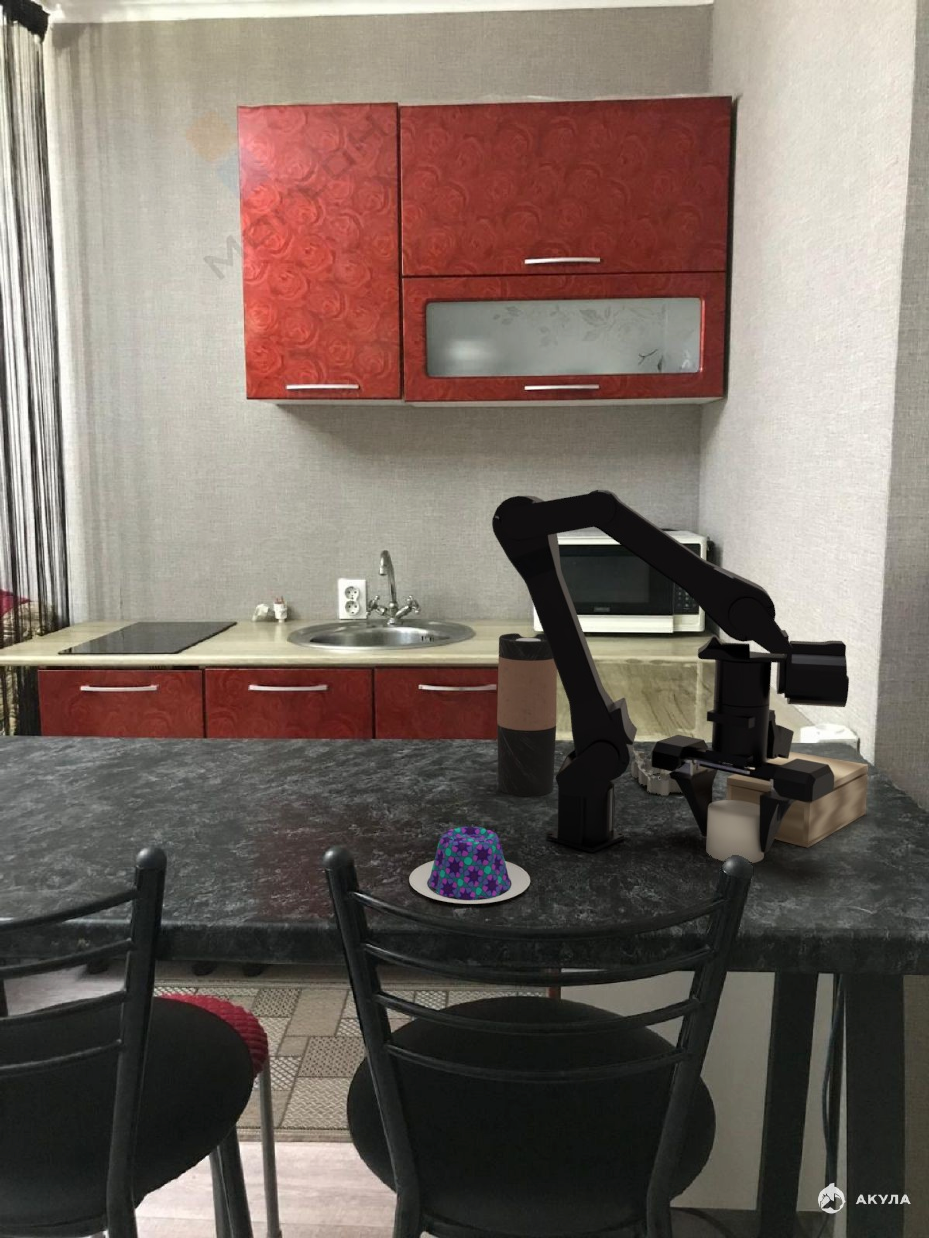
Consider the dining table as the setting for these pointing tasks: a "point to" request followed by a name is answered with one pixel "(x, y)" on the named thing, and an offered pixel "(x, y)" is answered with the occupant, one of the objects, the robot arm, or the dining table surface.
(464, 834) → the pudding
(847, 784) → the storage box
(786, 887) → the dining table surface
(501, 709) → the travel mug
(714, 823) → the beige tapered cylinder
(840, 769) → the box lid
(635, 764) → the egg carton
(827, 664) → the robot arm
